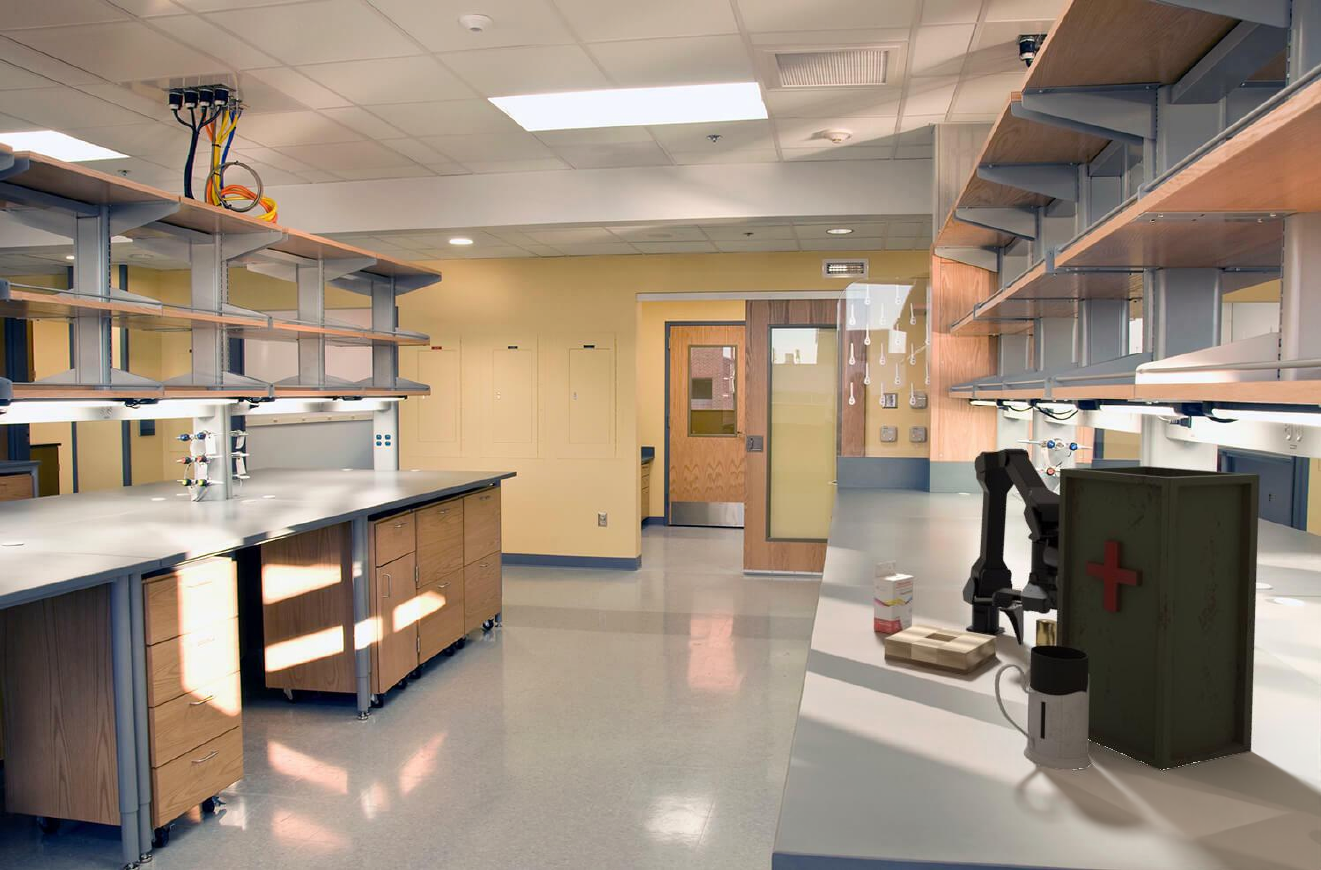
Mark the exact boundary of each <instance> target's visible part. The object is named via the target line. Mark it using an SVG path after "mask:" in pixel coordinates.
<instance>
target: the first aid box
mask: <svg viewBox="0 0 1321 870" xmlns="http://www.w3.org/2000/svg"><path fill="white" fill-rule="evenodd" d="M1058 495H1059V540H1058V585H1057V610H1056V622H1057V630H1056V646H1064V647H1070V648H1074V649H1078V650H1081V651H1084V652H1086V653H1087V654H1088V655H1089V664H1088V673H1089V679H1090V682H1089V725H1088V739H1089V740H1091V741H1093V742H1092V743H1094V742H1095V743H1094V744H1096V743H1098V744H1100V745H1099V746H1101V745H1102V746H1101V747H1103V746H1106V747H1108V748H1111V749H1113V750H1115V751H1117V752H1116V753H1118V752H1119V753H1118V754H1120V753H1123V754H1125V755H1127V756H1129V757H1131V758H1130V759H1132V758H1133V759H1132V760H1134V759H1135V761H1137V762H1139V761H1142V762H1144V763H1145V765H1146V764H1148V765H1147V766H1149V765H1150V766H1149V767H1151V766H1152V768H1154V769H1156V768H1158V769H1157V770H1159V769H1161V770H1163V769H1167V768H1172V769H1175V768H1174V767H1177V768H1179V767H1178V766H1181V767H1183V766H1182V765H1186V764H1190V765H1192V764H1191V763H1193V762H1198V761H1204V762H1206V760H1208V761H1211V760H1210V759H1213V760H1216V759H1215V758H1217V759H1221V758H1220V757H1222V758H1225V757H1224V756H1226V757H1230V755H1231V756H1234V755H1233V754H1235V755H1238V753H1240V754H1243V753H1247V751H1249V752H1252V740H1253V739H1252V737H1253V736H1252V733H1253V732H1252V731H1253V701H1254V671H1255V670H1254V665H1255V633H1256V632H1255V631H1256V603H1257V602H1256V601H1257V599H1256V598H1257V573H1258V572H1257V569H1258V567H1257V566H1258V539H1259V537H1258V534H1259V533H1258V532H1259V531H1258V530H1259V507H1260V506H1259V504H1260V503H1259V502H1260V501H1259V498H1260V474H1255V473H1241V472H1231V471H1230V472H1229V471H1228V472H1227V471H1217V470H1216V471H1215V470H1203V469H1190V468H1189V469H1188V468H1176V467H1175V468H1174V467H1163V466H1148V465H1137V466H1136V465H1135V466H1134V465H1133V466H1105V467H1104V466H1103V467H1102V466H1101V467H1099V466H1098V467H1077V468H1075V467H1073V468H1071V467H1070V468H1059V494H1058ZM1089 740H1088V741H1089ZM1091 741H1090V742H1091ZM1098 744H1097V745H1098ZM1106 747H1105V748H1106ZM1108 748H1107V749H1108ZM1113 750H1112V751H1113ZM1115 751H1114V752H1115ZM1125 755H1124V756H1125ZM1127 756H1126V757H1127ZM1129 757H1128V758H1129ZM1142 762H1141V763H1142ZM1144 763H1143V764H1144ZM1186 766H1187V765H1186ZM1161 770H1160V771H1161ZM1163 771H1164V770H1163Z"/></svg>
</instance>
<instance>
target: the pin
mask: <svg viewBox="0 0 1321 870" xmlns="http://www.w3.org/2000/svg"><path fill="white" fill-rule="evenodd" d="M1056 630H1057V620H1053V619H1049V618H1048V619H1047V618H1038V619H1036V620H1035V646H1042V645H1054V646H1056Z"/></svg>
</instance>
